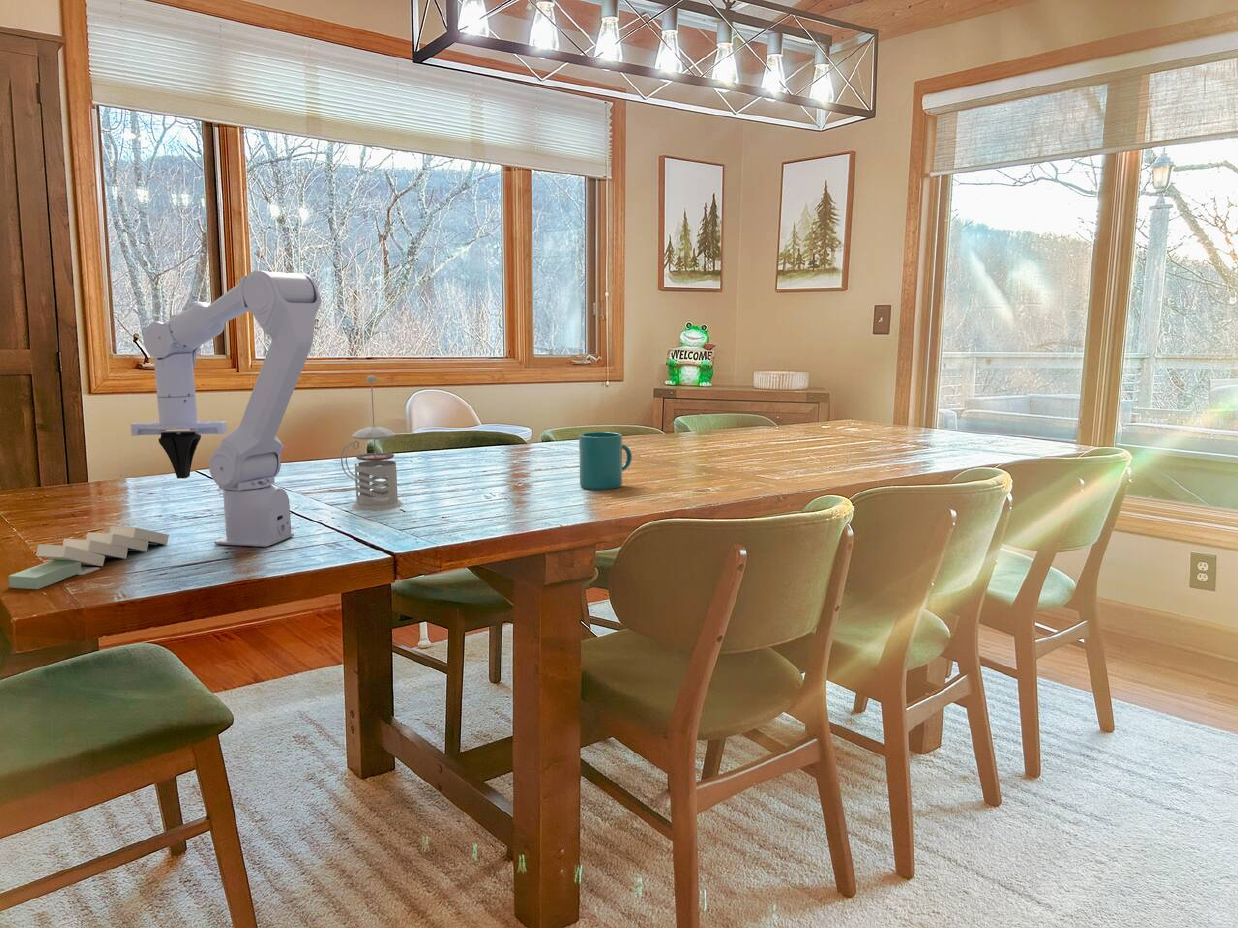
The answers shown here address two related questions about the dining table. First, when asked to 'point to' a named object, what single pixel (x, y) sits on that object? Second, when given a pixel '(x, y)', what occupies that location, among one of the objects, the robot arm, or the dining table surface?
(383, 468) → the french press
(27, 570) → the domino
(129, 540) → the domino
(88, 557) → the domino
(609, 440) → the cup
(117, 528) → the domino
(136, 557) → the dining table surface
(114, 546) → the domino
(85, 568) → the pad
